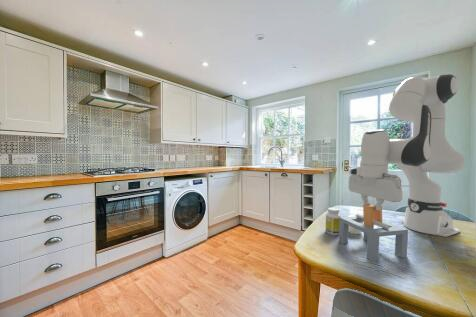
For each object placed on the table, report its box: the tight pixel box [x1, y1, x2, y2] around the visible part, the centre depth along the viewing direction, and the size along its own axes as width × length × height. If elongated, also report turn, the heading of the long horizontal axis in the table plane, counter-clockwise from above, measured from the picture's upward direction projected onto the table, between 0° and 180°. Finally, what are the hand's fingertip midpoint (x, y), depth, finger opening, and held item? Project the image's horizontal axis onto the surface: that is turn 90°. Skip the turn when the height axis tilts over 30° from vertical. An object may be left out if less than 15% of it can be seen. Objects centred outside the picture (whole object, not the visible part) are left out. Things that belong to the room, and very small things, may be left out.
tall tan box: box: [362, 204, 383, 227], centre depth 77 cm, size 6×3×8 cm, turn 104°
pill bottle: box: [325, 207, 342, 236], centre depth 92 cm, size 6×6×11 cm
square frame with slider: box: [338, 213, 409, 263], centre depth 77 cm, size 15×16×12 cm
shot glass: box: [346, 214, 364, 235], centre depth 94 cm, size 7×7×7 cm
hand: (371, 208), depth 77 cm, fingers closed on tall tan box, 3 cm apart
